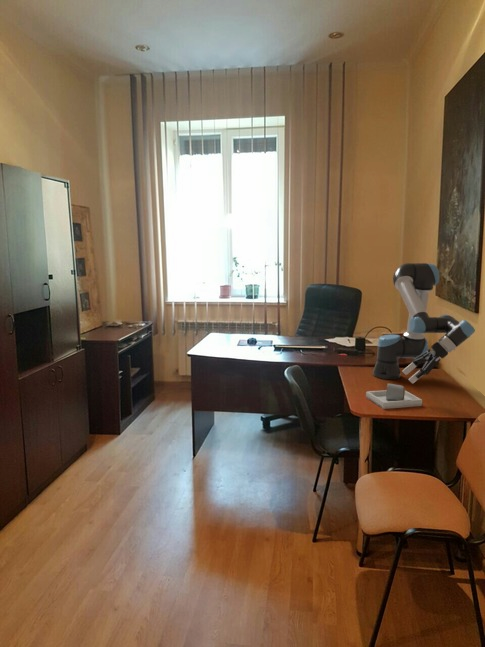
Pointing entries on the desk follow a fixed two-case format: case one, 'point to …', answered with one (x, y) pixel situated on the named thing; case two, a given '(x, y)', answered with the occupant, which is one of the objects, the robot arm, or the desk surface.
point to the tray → (382, 402)
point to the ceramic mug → (395, 392)
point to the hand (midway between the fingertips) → (407, 377)
